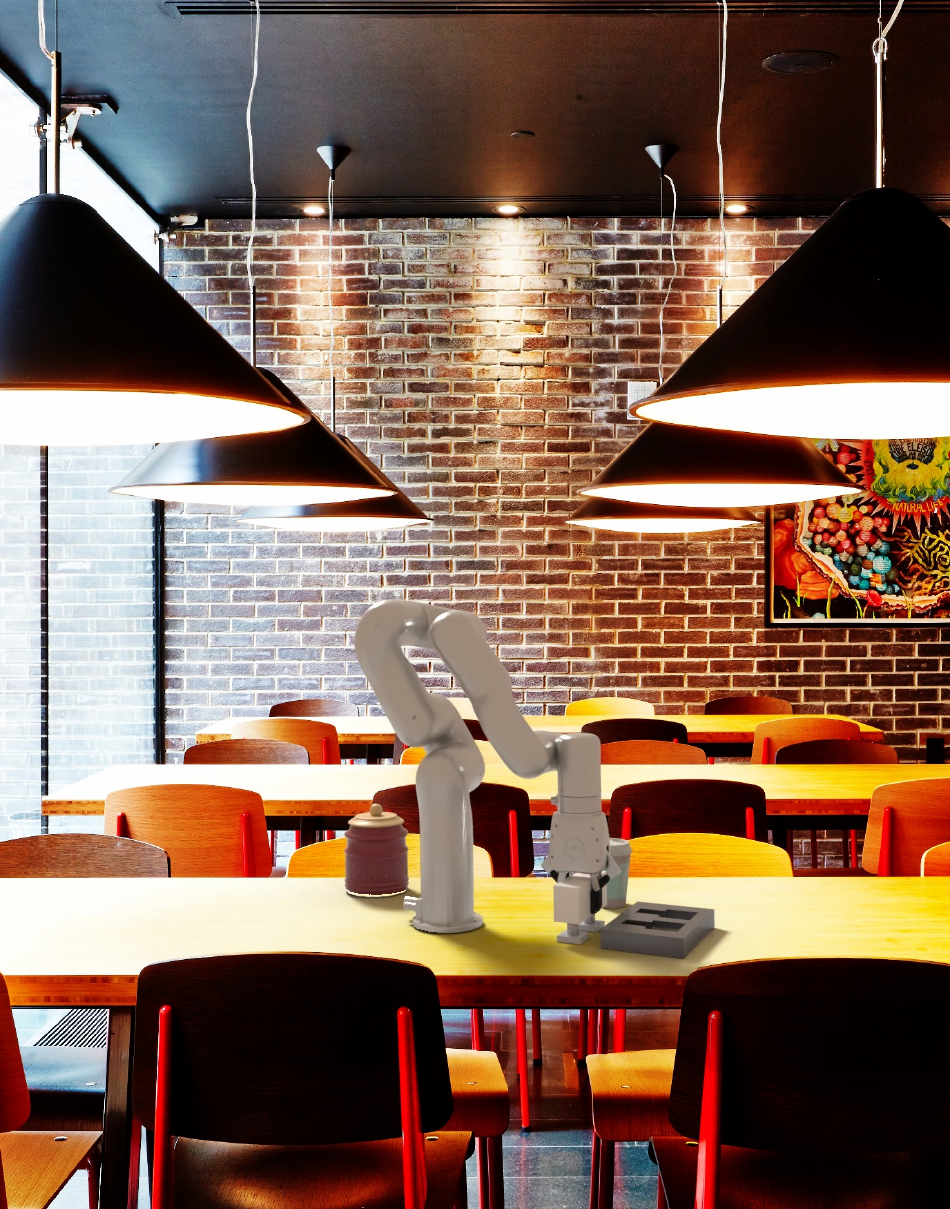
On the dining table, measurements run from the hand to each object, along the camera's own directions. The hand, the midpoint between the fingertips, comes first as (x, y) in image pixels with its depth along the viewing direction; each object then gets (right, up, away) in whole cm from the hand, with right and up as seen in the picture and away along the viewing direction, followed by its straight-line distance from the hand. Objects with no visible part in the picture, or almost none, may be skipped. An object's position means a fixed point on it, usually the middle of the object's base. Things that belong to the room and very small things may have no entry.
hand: (581, 909), depth 192 cm
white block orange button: (0, -4, 0) cm, 4 cm away
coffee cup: (+7, -5, +20) cm, 22 cm away
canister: (-38, -6, +33) cm, 51 cm away
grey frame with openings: (+13, -4, -3) cm, 14 cm away
